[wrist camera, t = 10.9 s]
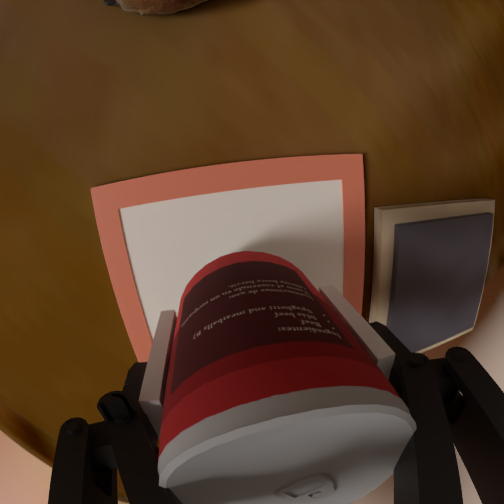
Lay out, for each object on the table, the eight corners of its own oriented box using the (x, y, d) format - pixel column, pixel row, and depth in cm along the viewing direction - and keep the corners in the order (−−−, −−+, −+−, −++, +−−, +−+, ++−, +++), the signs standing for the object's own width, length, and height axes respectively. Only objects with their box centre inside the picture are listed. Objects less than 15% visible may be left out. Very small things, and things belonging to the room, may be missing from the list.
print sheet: (93, 187, 15) (90, 188, 14) (358, 153, 16) (362, 153, 16) (156, 396, 20) (155, 400, 20) (353, 363, 22) (355, 366, 21)
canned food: (256, 382, 18) (294, 531, 8) (152, 320, 16) (110, 496, 5) (339, 300, 17) (450, 433, 7) (237, 215, 15) (304, 349, 4)
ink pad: (374, 207, 18) (387, 211, 16) (487, 198, 19) (499, 201, 17) (363, 364, 22) (371, 375, 20) (467, 325, 23) (476, 332, 22)
